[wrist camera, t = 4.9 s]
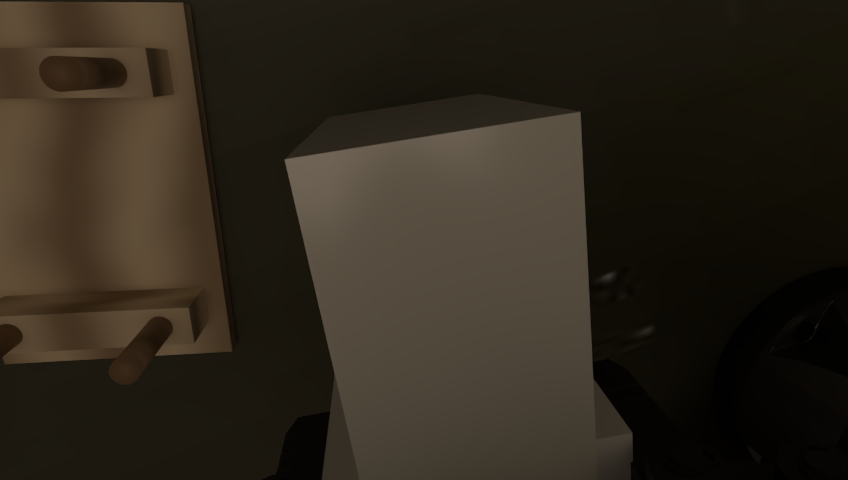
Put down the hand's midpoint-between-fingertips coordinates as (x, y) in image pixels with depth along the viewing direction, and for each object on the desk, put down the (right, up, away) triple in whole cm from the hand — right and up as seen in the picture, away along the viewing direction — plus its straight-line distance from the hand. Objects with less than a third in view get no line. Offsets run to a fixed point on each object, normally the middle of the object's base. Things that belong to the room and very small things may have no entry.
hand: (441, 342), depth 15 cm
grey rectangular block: (0, 0, 0) cm, 0 cm away
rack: (-17, +5, +11) cm, 21 cm away
